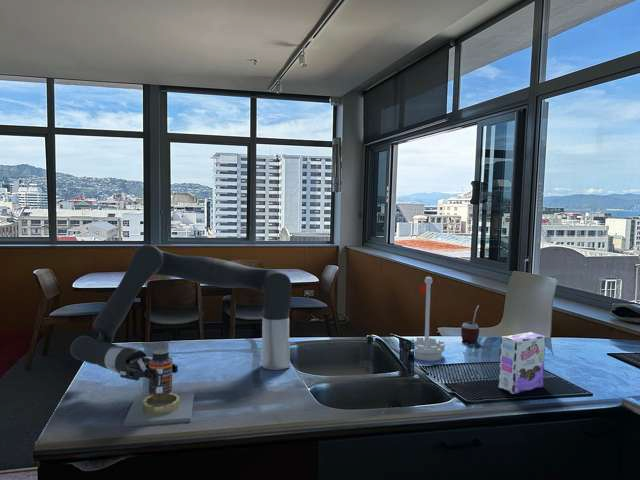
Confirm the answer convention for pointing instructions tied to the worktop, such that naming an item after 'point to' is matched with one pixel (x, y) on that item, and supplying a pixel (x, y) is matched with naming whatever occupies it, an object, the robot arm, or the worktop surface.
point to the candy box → (521, 362)
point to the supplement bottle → (161, 373)
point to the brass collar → (164, 408)
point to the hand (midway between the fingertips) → (167, 372)
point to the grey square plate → (179, 415)
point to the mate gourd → (470, 331)
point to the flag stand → (429, 346)
